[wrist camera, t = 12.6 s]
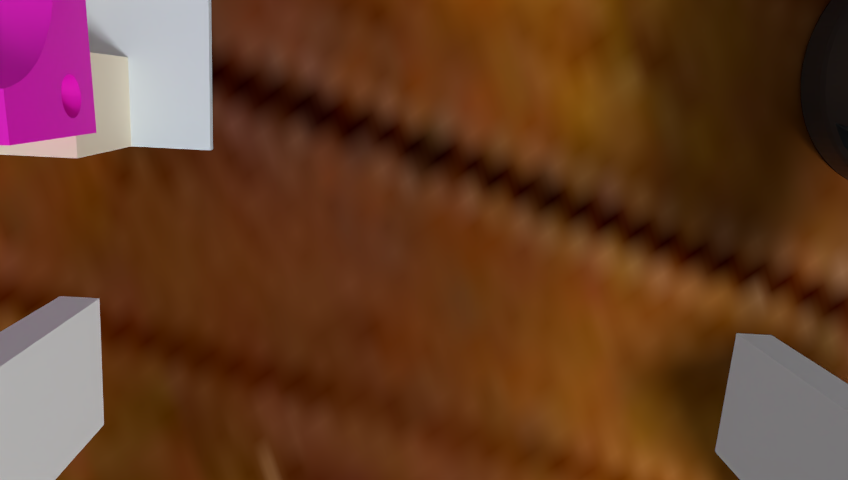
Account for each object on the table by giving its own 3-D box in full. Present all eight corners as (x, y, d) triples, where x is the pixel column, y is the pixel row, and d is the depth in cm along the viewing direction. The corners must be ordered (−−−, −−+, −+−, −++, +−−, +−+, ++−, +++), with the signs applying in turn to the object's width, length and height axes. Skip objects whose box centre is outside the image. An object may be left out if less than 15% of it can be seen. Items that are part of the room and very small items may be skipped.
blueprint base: (209, -107, 36) (165, -158, 29) (213, 149, 39) (173, 163, 32) (-59, -128, 35) (-176, -187, 28) (-34, 136, 38) (-134, 147, 31)
